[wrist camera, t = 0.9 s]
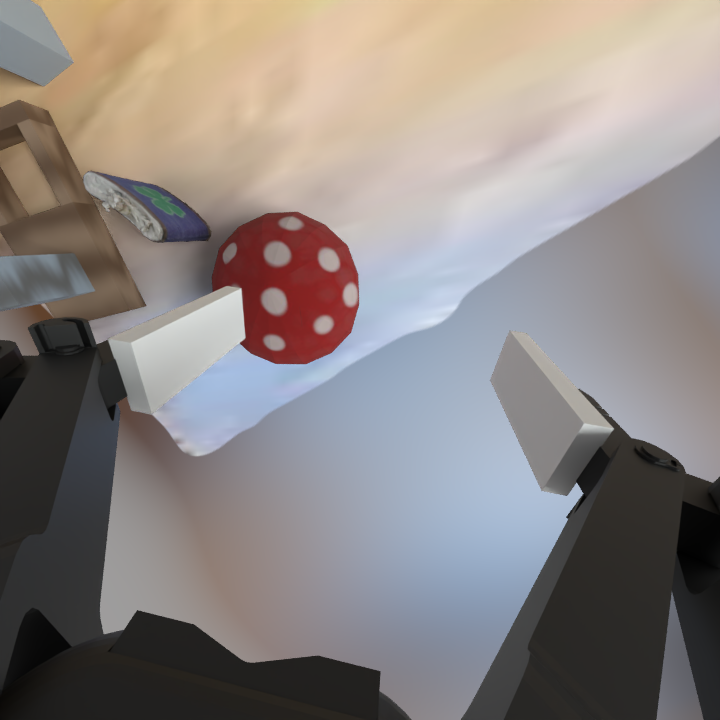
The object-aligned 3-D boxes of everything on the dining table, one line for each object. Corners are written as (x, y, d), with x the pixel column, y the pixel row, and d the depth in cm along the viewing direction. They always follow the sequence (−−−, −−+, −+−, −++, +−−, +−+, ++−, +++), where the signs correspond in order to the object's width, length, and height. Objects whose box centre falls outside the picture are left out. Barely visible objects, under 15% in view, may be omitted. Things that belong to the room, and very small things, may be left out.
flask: (144, 197, 38) (59, 182, 28) (153, 176, 37) (68, 153, 27) (206, 246, 40) (147, 248, 30) (216, 227, 39) (158, 223, 29)
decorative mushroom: (228, 265, 40) (145, 279, 26) (317, 187, 36) (274, 154, 22) (301, 355, 44) (263, 408, 31) (389, 295, 40) (391, 325, 26)
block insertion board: (-28, 141, 37) (-205, 99, 26) (47, 110, 35) (-109, 51, 24) (80, 322, 45) (-18, 349, 34) (146, 305, 43) (64, 328, 32)
